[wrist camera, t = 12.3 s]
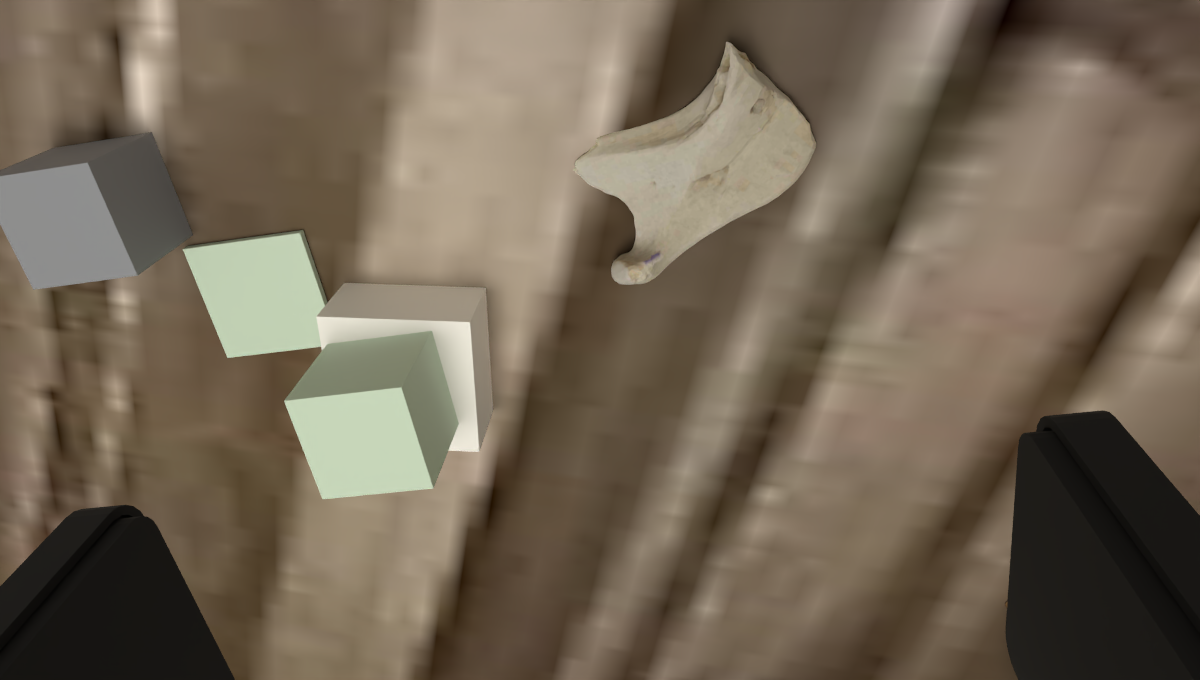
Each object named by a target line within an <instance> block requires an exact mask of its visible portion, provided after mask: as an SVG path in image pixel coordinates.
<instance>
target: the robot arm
mask: <svg viewBox="0 0 1200 680" xmlns="http://www.w3.org/2000/svg"><path fill="white" fill-rule="evenodd" d="M1006 641H1007V647H1008V652H1009V656H1010V660H1011V663H1012V665H1013V668H1014V671H1015V673H1016V675H1017V677H1018V680H1200V516H1199V514H1198V513H1197V512H1196V511H1195V510H1194V509H1193V507H1192V506H1191V505H1190V504H1189V503H1188V502H1187V500H1186V499H1185V498H1184V497H1183V496H1182V495H1181V493H1180V492H1179V491H1178V490H1177V489H1176V488H1175V486H1174V485H1173V484H1172V483H1171V482H1170V481H1169V479H1168V478H1167V477H1166V476H1165V475H1164V474H1163V472H1162V471H1161V470H1160V469H1159V468H1158V467H1157V465H1156V464H1155V463H1154V462H1153V461H1152V460H1151V458H1150V457H1149V456H1148V455H1147V454H1146V452H1145V451H1144V450H1143V449H1142V448H1141V447H1140V445H1139V444H1138V443H1137V442H1136V441H1135V440H1134V438H1133V437H1132V436H1131V435H1130V434H1129V433H1128V431H1127V430H1126V429H1125V428H1124V427H1123V426H1122V424H1121V423H1120V422H1119V421H1118V420H1117V419H1116V417H1114V416H1113V415H1112V414H1111V413H1110V412H1107V411H1093V412H1083V413H1072V414H1062V415H1052V416H1044V417H1043V418H1041V419H1040V421H1039V423H1038V425H1037V430H1036V432H1030V433H1024V434H1022V435H1021V437H1020V439H1019V445H1018V458H1017V472H1016V487H1015V501H1014V516H1013V530H1012V545H1011V559H1010V574H1009V589H1008V603H1007V618H1006ZM0 680H235V679H234V677H233V675H232V673H231V671H230V669H229V667H228V665H227V663H226V661H225V659H224V657H223V655H222V653H221V651H220V649H219V647H218V645H217V643H216V641H215V639H214V637H213V635H212V633H211V632H210V630H209V628H208V626H207V624H206V622H205V620H204V618H203V616H202V614H201V612H200V610H199V608H198V606H197V604H196V602H195V600H194V598H193V596H192V594H191V592H190V590H189V588H188V586H187V584H186V582H185V580H184V578H183V576H182V574H181V572H180V570H179V568H178V566H177V564H176V562H175V560H174V558H173V557H172V555H171V553H170V551H169V549H168V547H167V545H166V543H165V541H164V539H163V537H162V535H161V533H160V531H159V529H158V527H157V525H156V524H155V523H154V521H153V520H151V519H150V518H149V517H144V516H143V514H142V513H141V511H139V510H138V509H136V508H135V507H134V506H129V505H120V506H109V507H99V508H88V509H81V510H78V511H74V512H73V513H72V514H70V515H69V516H68V517H66V518H65V519H64V520H63V521H62V522H61V524H60V525H59V526H58V527H57V528H56V529H55V530H54V531H53V532H52V533H51V534H50V535H49V536H48V537H47V538H46V539H45V540H44V541H43V542H42V543H41V544H40V545H39V547H38V548H37V549H36V550H35V551H34V552H33V553H32V554H31V555H30V556H29V557H28V558H27V559H26V560H25V561H24V562H23V563H22V564H21V565H20V566H19V567H18V568H17V570H16V571H15V572H14V573H13V574H12V575H11V576H10V577H9V578H8V579H7V580H6V581H5V582H4V583H3V584H2V585H1V586H0Z"/></svg>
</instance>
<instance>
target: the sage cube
mask: <svg viewBox="0 0 1200 680" xmlns="http://www.w3.org/2000/svg"><path fill="white" fill-rule="evenodd" d="M284 402H285V405H286V407H287V410H288V412H289V415H290V417H291V420H292V422H293V425H294V428H295V430H296V433H297V435H298V438H299V440H300V443H301V445H302V448H303V451H304V453H305V456H306V458H307V461H308V463H309V466H310V468H311V471H312V474H313V476H314V479H315V481H316V484H317V486H318V489H319V491H320V494H321V497H322V499H331V498H341V497H351V496H361V495H371V494H381V493H391V492H402V491H412V490H422V489H432V488H434V485H435V483H436V480H437V478H438V475H439V473H440V470H441V468H442V465H443V463H444V460H445V458H446V455H447V453H448V450H449V447H450V445H451V442H452V440H453V437H454V435H455V432H456V430H457V427H458V425H459V423H458V419H457V416H456V412H455V409H454V405H453V402H452V399H451V395H450V392H449V388H448V385H447V381H446V378H445V374H444V371H443V367H442V364H441V360H440V357H439V354H438V350H437V347H436V343H435V340H434V336H433V333H432V331H426V332H418V333H410V334H402V335H395V336H387V337H379V338H371V339H363V340H355V341H347V342H339V343H331V344H327V345H326V346H325V348H324V349H323V350H322V352H321V353H320V354H319V356H318V357H317V358H316V360H315V361H314V362H313V364H312V365H311V366H310V368H309V369H308V370H307V371H306V373H305V374H304V375H303V377H302V378H301V379H300V381H299V382H298V383H297V385H296V386H295V387H294V389H293V390H292V391H291V393H290V394H289V395H288V396H287V398H286V399H285V400H284Z"/></svg>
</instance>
